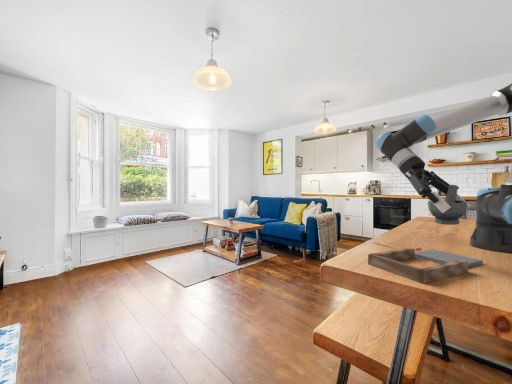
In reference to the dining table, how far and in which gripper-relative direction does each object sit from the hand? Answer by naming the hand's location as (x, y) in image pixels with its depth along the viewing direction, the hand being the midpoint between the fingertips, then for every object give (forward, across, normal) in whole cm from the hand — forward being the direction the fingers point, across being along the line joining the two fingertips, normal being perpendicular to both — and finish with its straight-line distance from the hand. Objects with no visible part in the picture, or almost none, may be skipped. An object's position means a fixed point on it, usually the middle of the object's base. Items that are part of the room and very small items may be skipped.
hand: (457, 209), depth 75 cm
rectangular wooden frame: (+10, +17, -13) cm, 24 cm away
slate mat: (+10, 0, -14) cm, 17 cm away
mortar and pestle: (+1, -1, -5) cm, 6 cm away
